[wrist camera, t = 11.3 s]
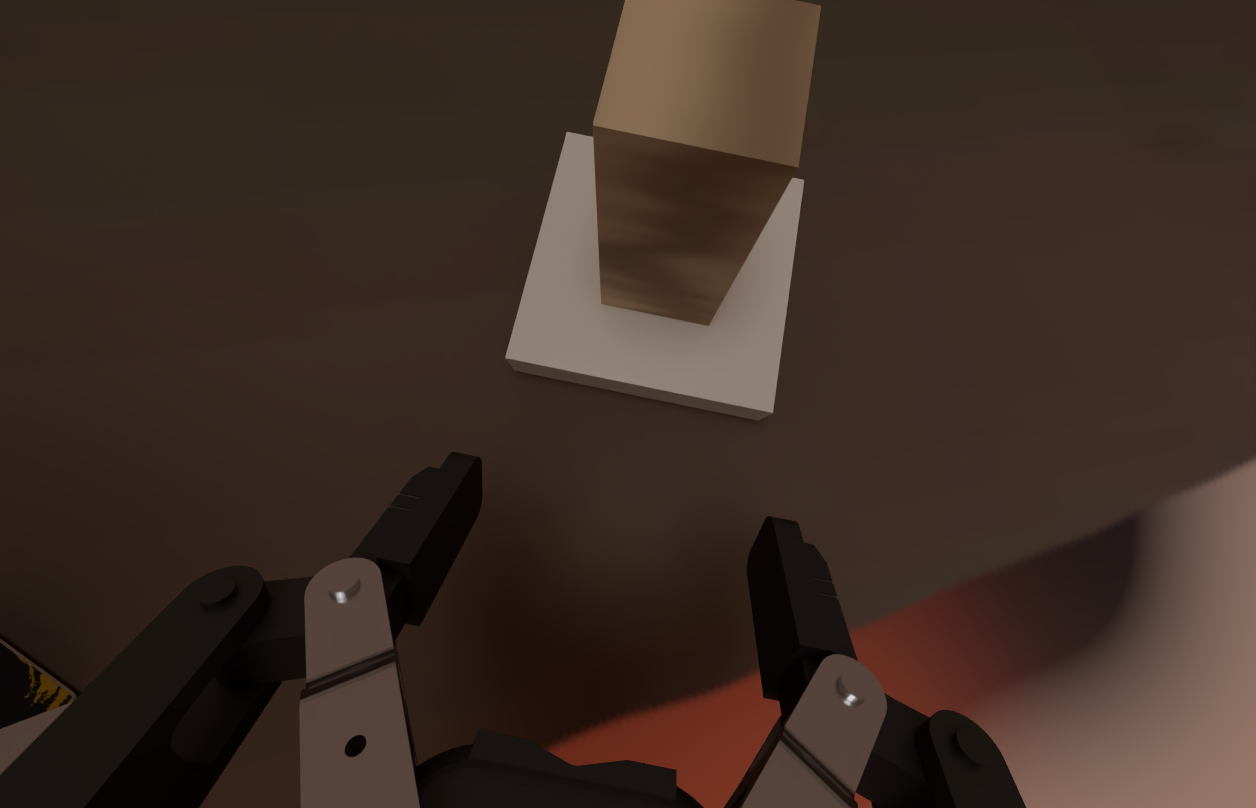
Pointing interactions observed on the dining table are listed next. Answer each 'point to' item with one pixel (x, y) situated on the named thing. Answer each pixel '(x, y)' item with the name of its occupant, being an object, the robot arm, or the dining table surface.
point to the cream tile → (644, 343)
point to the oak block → (696, 145)
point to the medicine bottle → (26, 702)
